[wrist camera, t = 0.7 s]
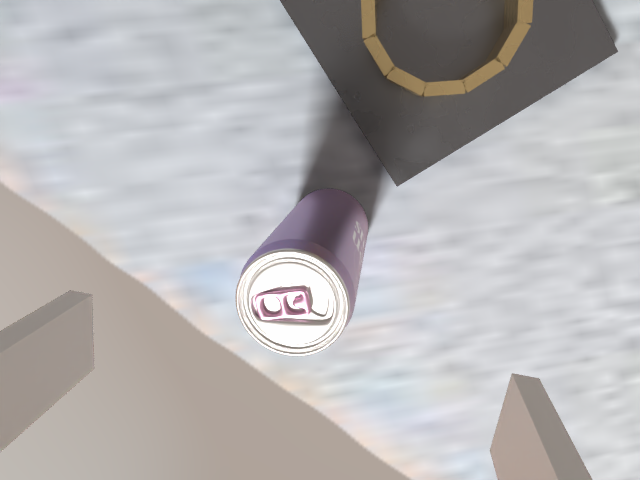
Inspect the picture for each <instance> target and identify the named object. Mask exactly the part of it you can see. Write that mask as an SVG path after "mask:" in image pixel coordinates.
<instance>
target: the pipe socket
mask: <svg viewBox="0 0 640 480" xmlns="http://www.w3.org/2000/svg"><path fill="white" fill-rule="evenodd" d="M280 1H281V3H282V4H283V6H284V8H285V9H286V11H287V12H288V14H289V16H290V17H291V19H292V20H293V22H294V24H295V25H296V27H297V28H298V30H299V31H300V33H301V35H302V36H303V38H304V39H305V41H306V43H307V44H308V46H309V47H310V49H311V51H312V52H313V54H314V55H315V57H316V59H317V60H318V62H319V63H320V65H321V67H322V68H323V70H324V71H325V73H326V74H327V76H328V78H329V79H330V81H331V82H332V84H333V86H334V87H335V89H336V90H337V92H338V94H339V95H340V97H341V98H342V100H343V102H344V103H345V105H346V106H347V108H348V110H349V111H350V113H351V114H352V116H353V117H354V119H355V121H356V122H357V124H358V125H359V127H360V129H361V130H362V132H363V133H364V135H365V137H366V138H367V140H368V141H369V143H370V145H371V146H372V148H373V149H374V151H375V153H376V154H377V156H378V157H379V159H380V160H381V162H382V164H383V165H384V167H385V168H386V170H387V172H388V173H389V175H390V176H391V178H392V180H393V181H394V183H395V184H396V186H399V185H400V184H402V183H404V182H405V181H407V180H409V179H410V178H412V177H414V176H415V175H417V174H418V173H420V172H422V171H423V170H425V169H427V168H428V167H430V166H432V165H433V164H435V163H436V162H438V161H440V160H441V159H443V158H445V157H446V156H448V155H450V154H451V153H453V152H454V151H456V150H458V149H459V148H461V147H463V146H464V145H466V144H468V143H469V142H471V141H472V140H474V139H476V138H477V137H479V136H481V135H482V134H484V133H486V132H487V131H489V130H490V129H492V128H494V127H495V126H497V125H499V124H500V123H502V122H504V121H505V120H507V119H508V118H510V117H512V116H513V115H515V114H517V113H518V112H520V111H522V110H523V109H525V108H526V107H528V106H530V105H531V104H533V103H535V102H536V101H538V100H540V99H541V98H543V97H544V96H546V95H548V94H549V93H551V92H553V91H554V90H556V89H558V88H559V87H561V86H562V85H564V84H566V83H567V82H569V81H571V80H572V79H574V78H576V77H577V76H579V75H580V74H582V73H584V72H585V71H587V70H589V69H590V68H592V67H594V66H595V65H597V64H598V63H600V62H602V61H603V60H605V59H607V58H608V57H610V56H612V55H613V54H615V53H616V52H618V50H617V48H616V46H615V44H614V42H613V41H612V39H611V37H610V35H609V33H608V31H607V29H606V27H605V25H604V23H603V21H602V19H601V17H600V15H599V13H598V11H597V9H596V7H595V5H594V3H593V1H592V0H280Z"/></svg>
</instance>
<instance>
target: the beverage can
mask: <svg viewBox="0 0 640 480" xmlns="http://www.w3.org/2000/svg"><path fill="white" fill-rule="evenodd" d="M367 234H368V220H367V216H366V213H365V211H364V209H363V207H362V206H361V205H360V203H359V202H358V201H357V200H356V199H355V198H354V197H352V196H351V195H349V194H348V193H346V192H343V191H341V190H337V189H320V190H316V191H314V192H311V193H310V194H308V195H306V196H305V197H304V198H303V199H302V200H301V201H300V202H299V203H298V204H297V205H296V206H295V208H294V209H293V210H292V211H291V212H290V213H289V214H288V215H287V217H286V218H285V219H284V220H283V221H282V222H281V223H280V224H279V226H278V227H277V228H276V229H275V230H274V231H273V232H272V234H271V235H270V236H269V237H268V238H267V239H266V240H265V241H264V243H263V244H262V245H261V246H260V247H259V248H258V249H257V250H256V252H255V253H254V254H253V255H252V256H251V257H250V258H249V260H248V261H247V263H246V264H245V266H244V268H243V270H242V273H241V276H240V280H239V282H238V285H237V290H236V307H237V311H238V315H239V317H240V320H241V322H242V324H243V326H244V327H245V329H246V330H247V331H248V333H249V334H250V335H251V336H252V337H253V338H254V339H255V340H256V341H257V342H258V343H260V344H261V345H263V346H264V347H266V348H268V349H270V350H272V351H274V352H277V353H280V354H284V355H290V356H304V355H310V354H314V353H317V352H319V351H322V350H324V349H326V348H327V347H329V346H330V345H331V344H333V343H334V342H335V341H336V340H337V339H338V337H339V336H340V335H341V333H342V332H343V330H344V329H345V327H346V326H347V324H348V323H349V321H350V319H351V317H352V314H353V311H354V306H355V301H356V295H357V290H358V284H359V279H360V273H361V268H362V262H363V257H364V251H365V245H366V240H367Z"/></svg>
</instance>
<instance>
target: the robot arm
mask: <svg viewBox="0 0 640 480" xmlns="http://www.w3.org/2000/svg"><path fill="white" fill-rule="evenodd" d="M93 369H94V344H93V307H92V294H87V293H82V292H76V291H71V290H70V291H68V292H66V293H65V294H63V295H61V296H60V297H58V298H56V299H55V300H53V301H51V302H49V303H48V304H46V305H44V306H42V307H41V308H39V309H37V310H35V311H34V312H32V313H30V314H29V315H27V316H25V317H23V318H22V319H20V320H18V321H17V322H15V323H13V324H12V325H10V326H8V327H6V328H5V329H3V330H1V331H0V452H1V451H2V450H3V449H4V448H5V447H7V446H8V445H9V444H10V443H11V442H12V441H13V440H14V439H16V438H17V437H18V436H19V435H20V434H21V433H22V432H23V431H24V430H25V429H27V428H28V427H29V426H30V425H31V424H32V423H34V422H35V421H36V420H37V419H38V418H39V417H40V416H41V415H43V414H44V413H45V412H46V411H47V410H48V409H49V408H50V407H52V405H54V404H55V403H56V402H57V401H58V400H59V399H61V398H62V397H63V396H64V395H65V394H66V393H67V392H68V391H70V390H71V389H72V388H73V387H74V386H75V385H76V384H77V383H79V382H80V381H81V380H82V379H83V378H84V377H85V376H86V375H87V374H89V373H90V372H91V371H92V370H93ZM490 453H491V457H492V460H493V464H494V468H495V471H496V475H497V478H498V480H592V478H591V476H590V474H589V473H588V471H587V469H586V467H585V465H584V463H583V461H582V459H581V457H580V455H579V453H578V452H577V450H576V448H575V446H574V444H573V442H572V440H571V438H570V436H569V434H568V433H567V431H566V429H565V427H564V425H563V423H562V421H561V419H560V417H559V415H558V414H557V412H556V410H555V408H554V406H553V404H552V402H551V400H550V398H549V396H548V394H547V393H546V391H545V389H544V387H543V385H542V383H541V381H540V379H539V378H534V377H528V376H523V375H518V374H512V375H511V378H510V382H509V385H508V389H507V392H506V396H505V399H504V403H503V406H502V410H501V413H500V416H499V420H498V423H497V427H496V430H495V434H494V437H493V441H492V444H491V448H490Z"/></svg>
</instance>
